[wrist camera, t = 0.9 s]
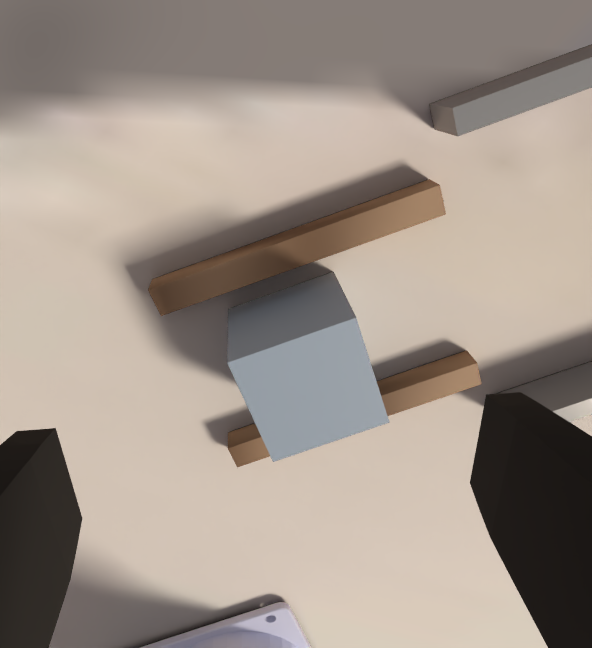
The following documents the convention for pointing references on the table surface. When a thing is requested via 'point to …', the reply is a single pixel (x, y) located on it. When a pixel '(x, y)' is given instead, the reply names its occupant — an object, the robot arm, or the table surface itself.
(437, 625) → the table surface
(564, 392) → the grey flat u-shaped frame
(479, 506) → the robot arm
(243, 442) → the slot holder
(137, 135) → the table surface
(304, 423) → the block
